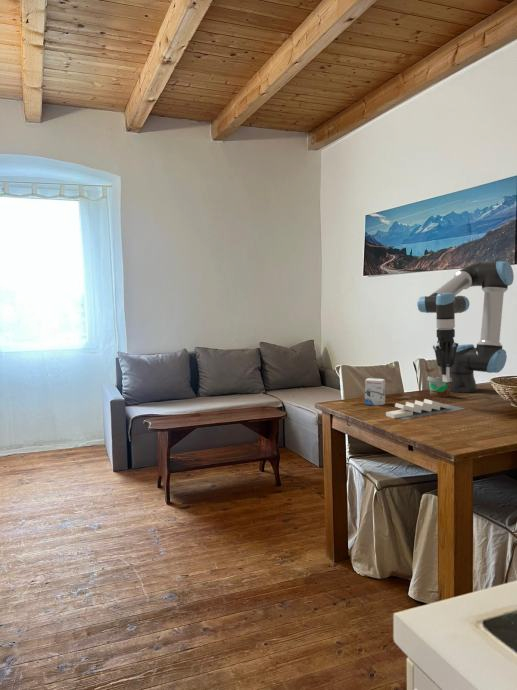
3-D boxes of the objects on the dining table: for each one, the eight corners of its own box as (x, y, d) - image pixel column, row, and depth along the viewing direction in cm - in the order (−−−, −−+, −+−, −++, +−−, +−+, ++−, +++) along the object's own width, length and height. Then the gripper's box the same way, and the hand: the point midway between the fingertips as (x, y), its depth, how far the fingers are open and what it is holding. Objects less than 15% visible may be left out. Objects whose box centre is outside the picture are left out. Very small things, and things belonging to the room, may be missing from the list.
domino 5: (440, 403, 231) (424, 398, 226) (449, 405, 226) (432, 400, 222) (439, 406, 231) (423, 402, 226) (448, 408, 226) (431, 404, 222)
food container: (422, 396, 256) (422, 376, 254) (428, 394, 260) (428, 374, 258) (445, 399, 246) (445, 379, 245) (452, 397, 250) (452, 377, 249)
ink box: (364, 405, 242) (364, 380, 240) (367, 402, 246) (366, 378, 245) (383, 406, 238) (383, 380, 237) (385, 403, 243) (385, 378, 241)
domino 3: (423, 406, 227) (406, 401, 222) (431, 408, 222) (414, 403, 218) (422, 409, 226) (405, 405, 222) (430, 412, 222) (413, 407, 218)
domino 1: (404, 409, 222) (385, 412, 218) (412, 411, 218) (393, 414, 213) (404, 412, 222) (385, 415, 218) (412, 415, 218) (393, 418, 214)
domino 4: (432, 404, 229) (415, 400, 224) (440, 406, 224) (423, 402, 220) (431, 408, 229) (414, 403, 224) (439, 410, 224) (422, 405, 220)
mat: (444, 404, 237) (444, 403, 236) (465, 410, 226) (465, 408, 226) (384, 414, 222) (384, 413, 222) (403, 420, 211) (403, 419, 211)
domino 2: (413, 407, 224) (395, 402, 220) (421, 409, 220) (403, 405, 215) (412, 410, 224) (394, 406, 220) (420, 413, 220) (402, 408, 215)
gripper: (450, 326, 234) (450, 378, 237) (427, 329, 228) (428, 382, 231) (463, 327, 227) (463, 381, 230) (440, 330, 222) (441, 385, 225)
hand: (446, 381), depth 231 cm, fingers closed
